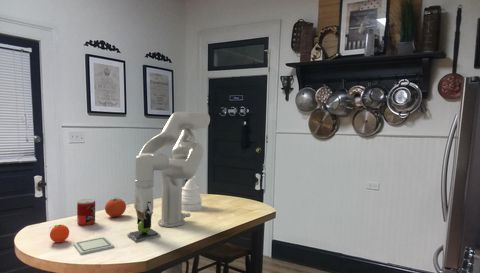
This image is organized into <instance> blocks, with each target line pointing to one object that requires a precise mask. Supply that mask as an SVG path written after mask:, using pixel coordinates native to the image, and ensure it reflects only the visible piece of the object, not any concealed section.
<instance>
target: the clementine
mask: <svg viewBox="0 0 480 273" xmlns="http://www.w3.org/2000/svg"><path fill="white" fill-rule="evenodd" d="M49 229H51V230H50V233H49V238H50V240H51V241H52V242H55V243H62V242H65V241H66V240H67V239H68V238H69V236H70V229H69V227H68V226H67V225H65V224H55V225H53V226H50V227H49Z"/></svg>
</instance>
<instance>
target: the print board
mask: <svg viewBox="0 0 480 273" xmlns="http://www.w3.org/2000/svg"><path fill="white" fill-rule="evenodd" d="M73 247H74V248H75V249H76V250H77V252H78V253H79V254H80V255H81V256H82V255H85V254H90V253H94V252H99V251H103V250H105V251H106V250H109V249H113V248H115V245H114V244H113V243H112V241H110V239H108V238H107V237H106V236H101V237H97V238H91V239H87V240H82V241H76V242H75V241H74V242H73Z"/></svg>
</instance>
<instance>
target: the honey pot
mask: <svg viewBox="0 0 480 273" xmlns="http://www.w3.org/2000/svg"><path fill="white" fill-rule="evenodd" d="M195 179H196V176H195V175H194V176H193V178H191V179H188V180H187V181H186V182H185V184H184V186H182V211H183V212H193V211H199V210H201V209H202V205H203V204H202V202H203V200H202V197H201V193H200V191H199V189H200V187H199V186H197V184H196V182H195Z"/></svg>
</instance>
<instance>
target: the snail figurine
mask: <svg viewBox="0 0 480 273" xmlns="http://www.w3.org/2000/svg"><path fill="white" fill-rule="evenodd" d="M136 206H137V205H136ZM146 211H148V210H146ZM135 212H136V216H137V217H138V218H139V219H140V220H142V221H140V222H139V224H137V229H138V230H137V231H140V232H141V233H146V232H148V231H149V230H150V229H152V226H151V227H150V228H145V229H144V228H143V219H144V212H143V213H142V212H140V214H139V211H138V210H137V208H136V209H135ZM147 214H148V213H146V215H147ZM137 217H136V218H137Z"/></svg>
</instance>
